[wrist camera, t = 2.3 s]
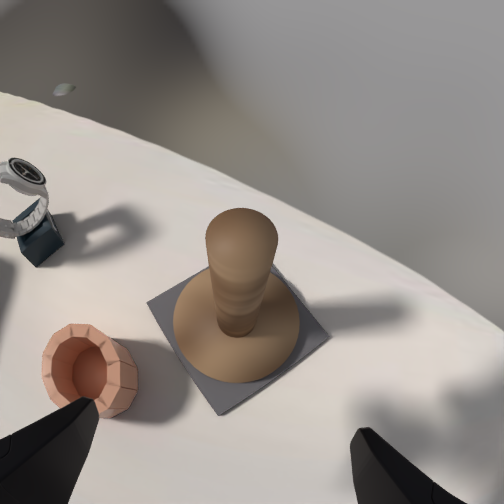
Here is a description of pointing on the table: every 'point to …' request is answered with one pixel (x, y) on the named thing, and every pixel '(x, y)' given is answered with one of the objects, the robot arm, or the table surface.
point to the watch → (30, 213)
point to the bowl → (89, 369)
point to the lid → (237, 303)
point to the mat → (224, 392)
